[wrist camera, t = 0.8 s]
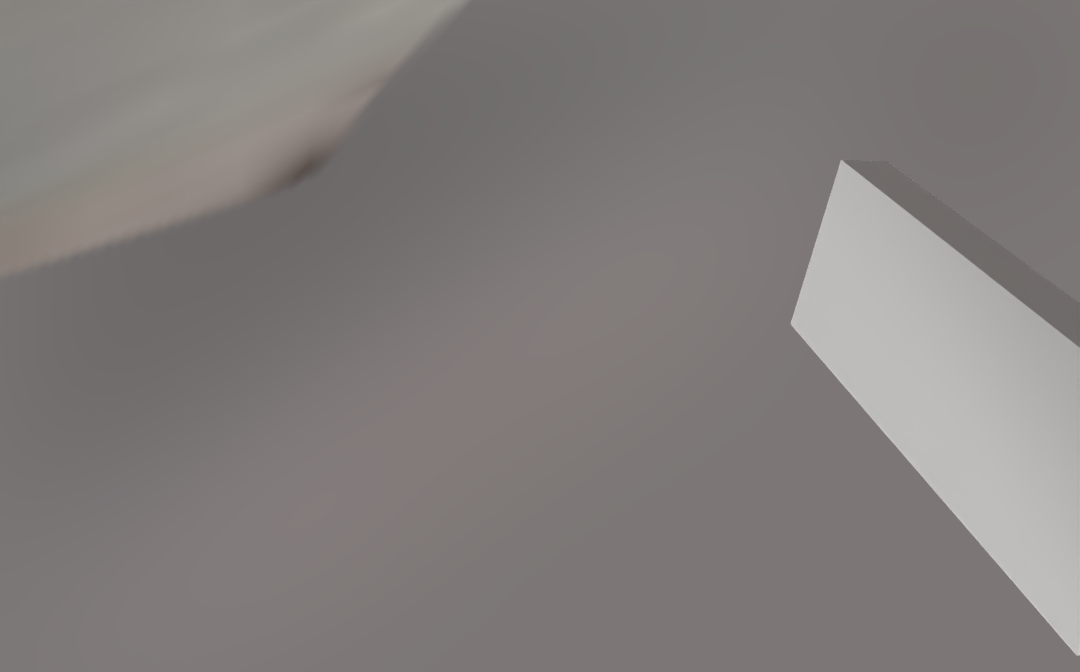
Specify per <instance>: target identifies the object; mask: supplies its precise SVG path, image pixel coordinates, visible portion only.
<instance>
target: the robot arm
mask: <svg viewBox="0 0 1080 672" xmlns="http://www.w3.org/2000/svg"><path fill="white" fill-rule="evenodd" d="M791 325H792V326H793V327H794V329H795V330H796V331H797V332H798V333H799V334H800V336H801V337H802V338H803V339H804V340H805V341H806V343H807V344H808V345H809V346H810V347H811V348H812V349H813V351H814V352H815V353H816V354H817V355H818V356H819V358H820V359H821V360H822V361H823V362H824V363H825V364H826V366H827V367H828V368H829V369H830V370H831V372H832V373H833V374H834V375H835V376H836V377H837V378H838V379H839V381H840V382H841V383H842V384H843V385H844V386H845V387H846V389H847V390H848V391H849V392H850V393H851V395H852V396H853V397H854V398H855V399H856V400H857V402H858V403H859V404H860V405H861V406H862V407H863V409H864V410H865V411H866V412H867V413H868V414H869V415H870V417H871V418H872V419H873V420H874V421H875V422H876V424H877V425H878V426H879V427H880V428H881V429H882V431H883V432H884V433H885V434H886V435H887V436H888V437H889V439H890V440H891V441H892V442H893V443H894V444H895V446H896V447H897V448H898V449H899V450H900V451H901V453H902V454H903V455H904V456H905V457H906V458H907V459H908V461H909V462H910V463H911V464H912V465H913V466H914V468H915V469H916V470H917V471H918V472H919V473H920V475H921V476H922V477H923V478H924V479H925V480H926V481H927V483H928V484H929V485H930V486H931V487H932V488H933V490H934V491H935V492H936V493H937V494H938V495H939V497H940V498H941V499H942V500H943V501H944V502H945V503H946V505H947V506H948V507H949V508H950V509H951V510H952V512H953V513H954V514H955V515H956V516H957V517H958V518H959V520H960V521H961V522H962V523H963V524H964V526H965V527H966V528H967V529H968V530H969V531H970V532H971V533H972V535H973V536H974V537H975V538H976V539H977V541H978V542H979V543H980V544H981V545H982V546H983V548H984V549H985V550H986V551H987V552H988V553H989V555H990V556H991V557H992V558H993V559H994V560H995V561H996V563H997V564H998V565H999V566H1000V567H1001V568H1002V570H1003V571H1004V572H1005V573H1006V574H1007V575H1008V577H1009V578H1010V579H1011V580H1012V581H1013V582H1014V583H1015V584H1016V586H1017V587H1018V588H1019V589H1020V590H1021V591H1022V593H1023V594H1024V595H1025V596H1026V597H1027V599H1028V600H1029V601H1030V602H1031V603H1032V604H1033V605H1034V607H1035V608H1036V609H1037V610H1038V611H1039V612H1040V614H1041V615H1042V616H1043V617H1044V618H1045V619H1046V621H1047V622H1048V623H1049V624H1050V625H1051V626H1052V627H1053V629H1054V630H1055V631H1056V632H1057V633H1058V634H1059V636H1060V637H1061V638H1062V639H1063V640H1064V641H1065V643H1066V644H1067V645H1068V646H1069V647H1070V648H1071V649H1072V650H1073V652H1074V653H1075V654H1076V655H1080V303H1079V302H1077V301H1076V300H1075V299H1073V298H1072V297H1071V296H1069V295H1068V294H1067V293H1065V292H1064V291H1063V290H1061V289H1059V287H1057V286H1056V285H1054V284H1053V283H1052V282H1050V281H1049V280H1048V279H1046V278H1045V277H1043V276H1042V275H1041V274H1039V273H1038V272H1037V271H1035V270H1034V269H1033V268H1031V267H1030V266H1028V265H1027V264H1026V263H1025V262H1023V261H1022V260H1020V259H1019V258H1018V257H1016V256H1015V255H1014V254H1012V253H1011V252H1010V251H1008V250H1007V249H1005V248H1004V247H1003V246H1001V245H1000V244H999V243H997V242H996V241H995V240H993V239H992V238H990V237H989V236H988V235H986V234H985V233H984V232H982V231H981V230H980V229H978V228H977V227H975V226H974V225H973V224H971V223H970V222H969V221H967V220H966V219H965V218H963V217H962V216H961V215H959V214H958V213H956V212H955V211H954V210H952V209H951V208H950V207H948V206H947V205H945V204H944V203H943V202H941V201H940V200H939V199H937V198H936V197H935V196H933V195H932V194H931V193H929V192H928V191H926V190H925V189H924V188H923V187H921V186H920V185H918V184H917V183H916V182H914V181H913V180H912V179H910V178H909V177H907V176H906V175H905V174H904V173H902V172H901V171H899V170H898V169H897V168H895V167H894V166H893V165H891V164H890V163H888V162H883V161H860V160H841V163H840V166H839V169H838V172H837V175H836V179H835V182H834V185H833V189H832V192H831V195H830V198H829V201H828V204H827V208H826V211H825V214H824V218H823V221H822V224H821V228H820V230H819V234H818V237H817V240H816V244H815V247H814V250H813V253H812V256H811V260H810V263H809V266H808V269H807V273H806V276H805V279H804V282H803V286H802V289H801V292H800V295H799V299H798V302H797V305H796V308H795V312H794V315H793V318H792V321H791Z"/></svg>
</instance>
